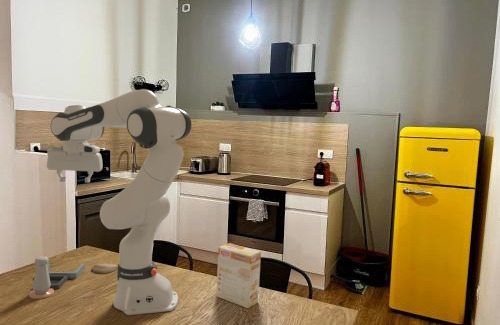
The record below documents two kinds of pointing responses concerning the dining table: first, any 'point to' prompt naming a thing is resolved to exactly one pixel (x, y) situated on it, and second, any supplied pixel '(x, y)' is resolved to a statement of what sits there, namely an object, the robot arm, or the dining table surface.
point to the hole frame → (57, 281)
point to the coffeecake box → (238, 274)
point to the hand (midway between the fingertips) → (75, 181)
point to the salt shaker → (41, 276)
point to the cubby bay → (70, 274)
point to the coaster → (37, 296)
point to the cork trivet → (104, 268)
